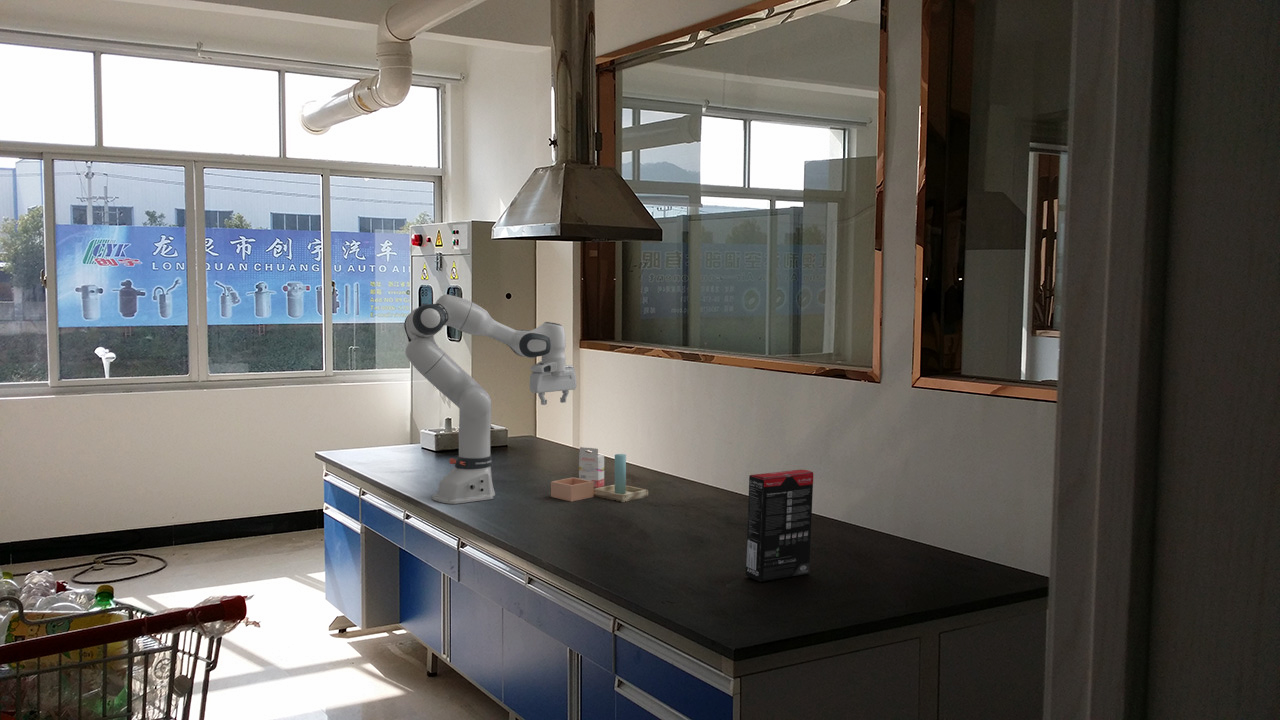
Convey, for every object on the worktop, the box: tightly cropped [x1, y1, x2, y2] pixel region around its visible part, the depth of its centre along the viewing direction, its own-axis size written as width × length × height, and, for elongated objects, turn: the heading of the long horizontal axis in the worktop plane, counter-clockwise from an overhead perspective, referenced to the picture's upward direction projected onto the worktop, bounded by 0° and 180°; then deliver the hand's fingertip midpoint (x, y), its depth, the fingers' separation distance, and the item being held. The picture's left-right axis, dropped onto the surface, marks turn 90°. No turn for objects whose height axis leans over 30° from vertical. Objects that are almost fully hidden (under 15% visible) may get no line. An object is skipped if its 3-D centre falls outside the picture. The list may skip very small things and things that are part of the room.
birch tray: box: [593, 484, 649, 503], centre depth 352 cm, size 13×15×2 cm
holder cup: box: [550, 477, 595, 502], centre depth 350 cm, size 11×11×6 cm
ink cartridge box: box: [578, 446, 605, 489], centre depth 369 cm, size 9×5×15 cm, turn 62°
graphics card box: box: [745, 469, 814, 583], centre depth 256 cm, size 17×7×27 cm, turn 123°
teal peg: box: [614, 453, 627, 495], centre depth 352 cm, size 4×4×14 cm
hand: (553, 403), depth 365 cm, fingers open, 8 cm apart
